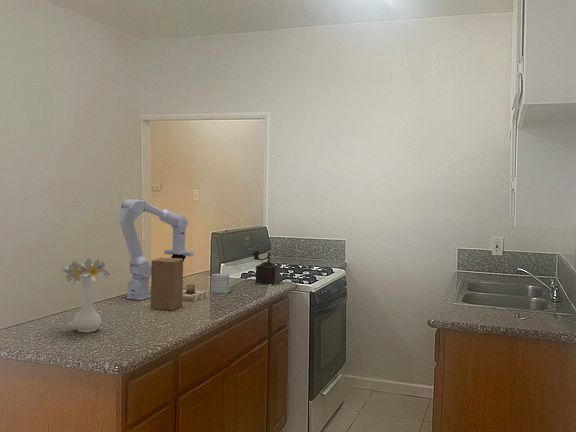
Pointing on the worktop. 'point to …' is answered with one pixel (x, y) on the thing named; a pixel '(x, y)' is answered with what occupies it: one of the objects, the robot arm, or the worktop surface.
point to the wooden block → (166, 283)
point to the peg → (190, 289)
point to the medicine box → (220, 283)
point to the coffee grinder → (266, 270)
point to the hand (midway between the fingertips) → (178, 270)
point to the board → (194, 295)
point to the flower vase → (86, 292)
